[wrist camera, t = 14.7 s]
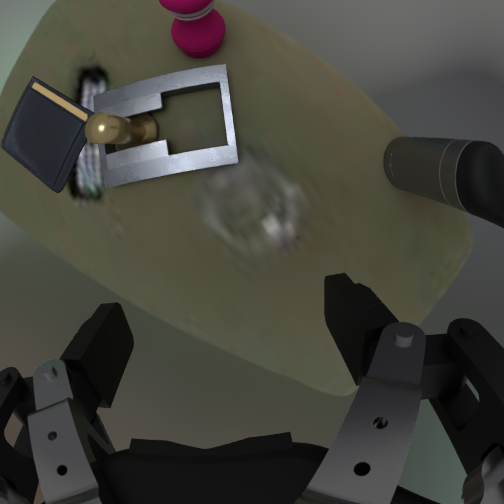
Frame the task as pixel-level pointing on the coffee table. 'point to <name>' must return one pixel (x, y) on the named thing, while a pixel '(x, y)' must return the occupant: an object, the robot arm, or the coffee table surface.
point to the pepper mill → (196, 26)
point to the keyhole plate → (157, 154)
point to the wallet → (46, 133)
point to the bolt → (122, 130)
